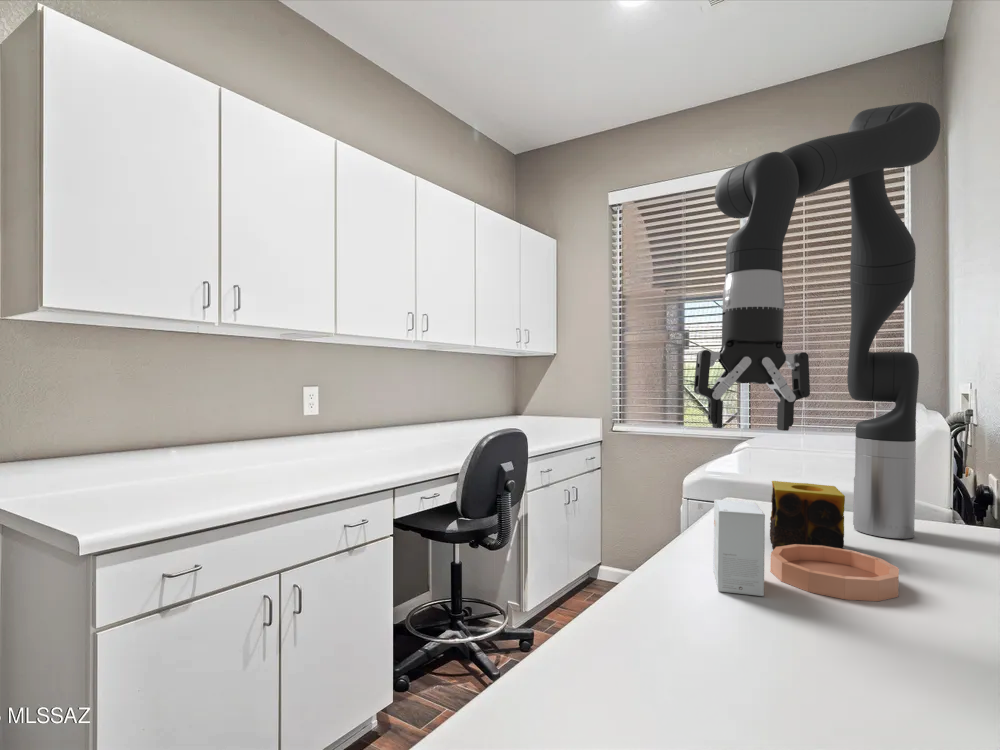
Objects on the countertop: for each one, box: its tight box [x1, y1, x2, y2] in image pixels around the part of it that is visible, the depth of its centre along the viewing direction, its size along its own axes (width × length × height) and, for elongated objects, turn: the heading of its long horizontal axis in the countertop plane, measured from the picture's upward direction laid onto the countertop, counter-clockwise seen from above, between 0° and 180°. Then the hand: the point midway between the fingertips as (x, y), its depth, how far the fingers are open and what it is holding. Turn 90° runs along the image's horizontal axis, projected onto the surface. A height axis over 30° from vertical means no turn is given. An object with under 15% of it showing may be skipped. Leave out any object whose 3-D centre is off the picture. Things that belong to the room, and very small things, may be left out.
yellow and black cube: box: [769, 480, 846, 551], centre depth 94 cm, size 10×10×10 cm
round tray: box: [769, 544, 900, 602], centre depth 78 cm, size 15×15×3 cm
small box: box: [712, 499, 766, 597], centre depth 76 cm, size 8×6×10 cm
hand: (749, 429), depth 76 cm, fingers open, 8 cm apart
